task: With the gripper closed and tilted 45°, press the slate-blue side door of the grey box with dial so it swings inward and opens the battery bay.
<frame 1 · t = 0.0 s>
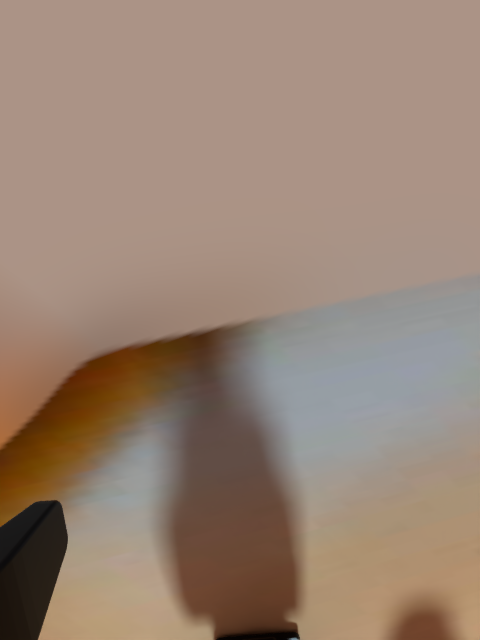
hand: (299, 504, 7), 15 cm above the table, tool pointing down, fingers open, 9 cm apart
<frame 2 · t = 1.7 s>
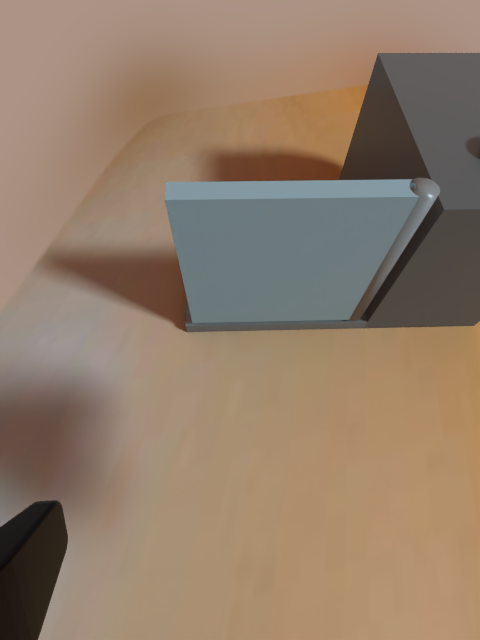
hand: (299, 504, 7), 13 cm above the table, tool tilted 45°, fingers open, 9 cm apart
side door: (287, 266, 18), point 6 cm above the table, hinge at 0.0°
grey box with dial: (347, 321, 24), on the table
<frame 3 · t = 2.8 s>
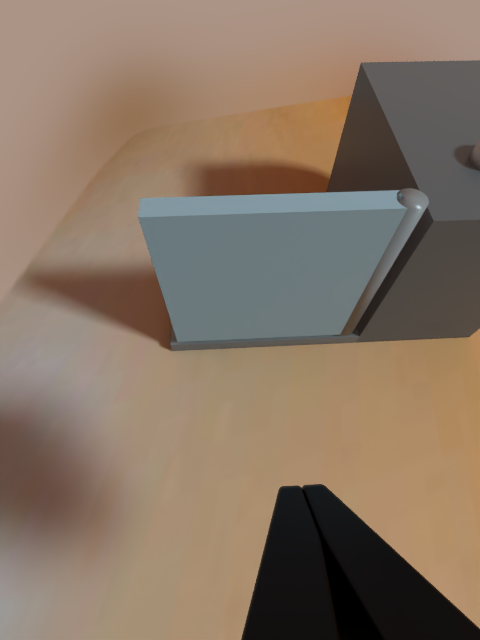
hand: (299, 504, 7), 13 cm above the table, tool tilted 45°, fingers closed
side door: (273, 282, 18), point 6 cm above the table, hinge at 0.0°
grey box with dial: (339, 336, 23), on the table
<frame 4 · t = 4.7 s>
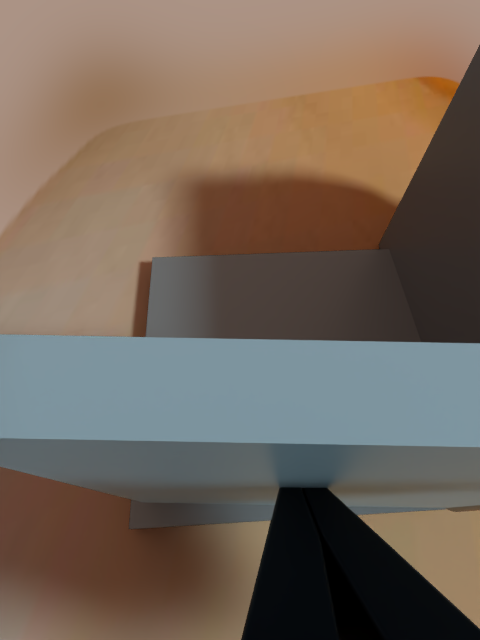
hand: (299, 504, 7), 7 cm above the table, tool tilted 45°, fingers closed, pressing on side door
side door: (346, 467, 8), point 6 cm above the table, hinge at 4.1°, touching gripper
grey box with dial: (433, 494, 13), on the table
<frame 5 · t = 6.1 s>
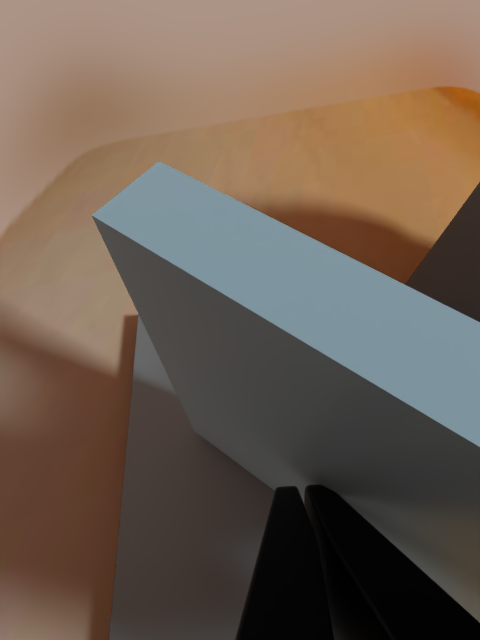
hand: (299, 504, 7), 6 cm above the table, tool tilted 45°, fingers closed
side door: (414, 523, 7), point 6 cm above the table, hinge at 38.2°, touching gripper
grey box with dial: (477, 626, 11), on the table
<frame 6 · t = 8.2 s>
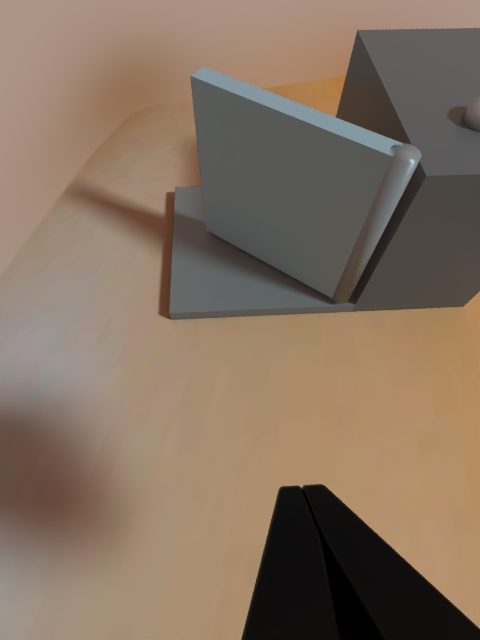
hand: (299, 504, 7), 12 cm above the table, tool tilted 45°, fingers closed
side door: (283, 202, 19), point 6 cm above the table, hinge at 38.3°
grey box with dial: (335, 305, 24), on the table
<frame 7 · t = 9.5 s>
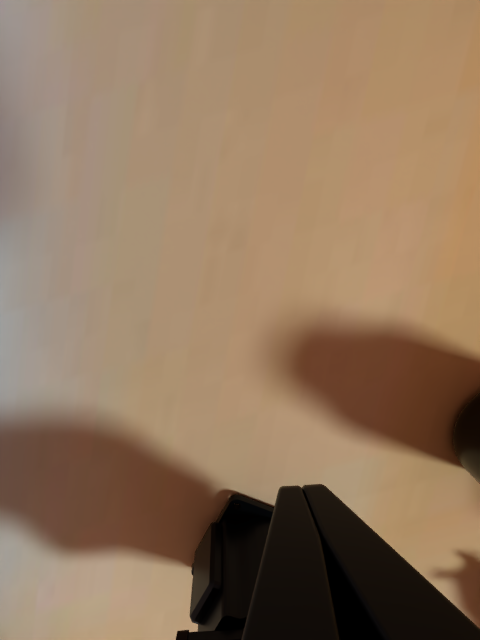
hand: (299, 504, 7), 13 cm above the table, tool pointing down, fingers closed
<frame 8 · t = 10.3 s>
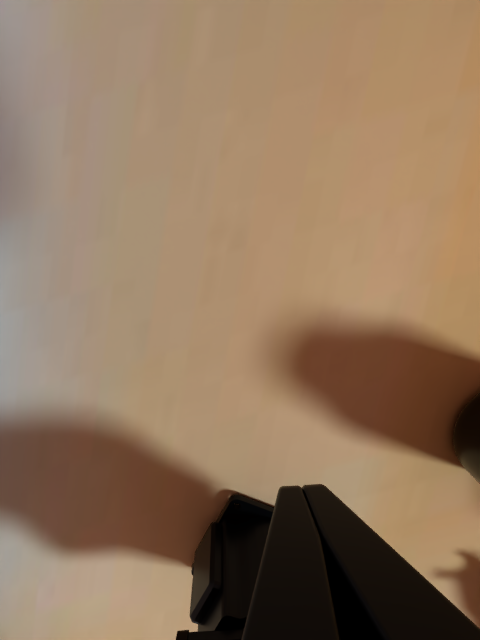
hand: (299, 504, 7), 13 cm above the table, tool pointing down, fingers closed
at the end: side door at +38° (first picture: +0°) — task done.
